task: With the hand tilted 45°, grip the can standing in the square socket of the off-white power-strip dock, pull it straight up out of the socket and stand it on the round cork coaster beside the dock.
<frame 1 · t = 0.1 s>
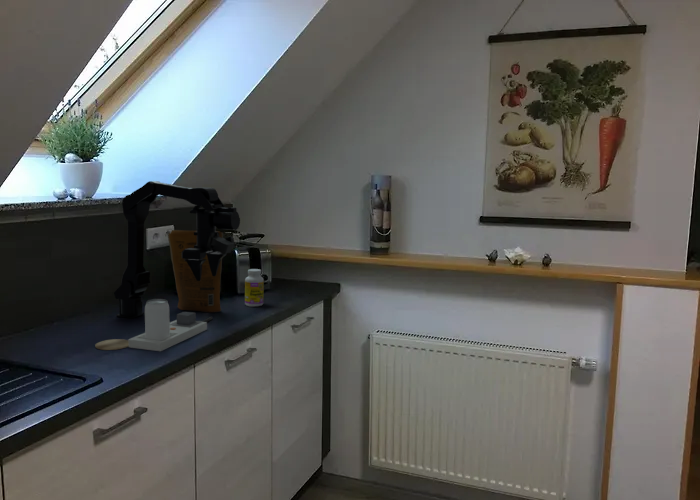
hand: (206, 278, 187), 15 cm above the worktop, tool pointing down, fingers open, 9 cm apart
pancake mix bag: (197, 310, 207), on the worktop
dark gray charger: (186, 330, 181), resting on strip dock
strip dock: (170, 337, 173), on the worktop
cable: (204, 323, 190), on the worktop
can: (157, 344, 168), resting in strip dock
cork coaster: (113, 345, 165), on the worktop
supplement bottle: (254, 305, 218), on the worktop
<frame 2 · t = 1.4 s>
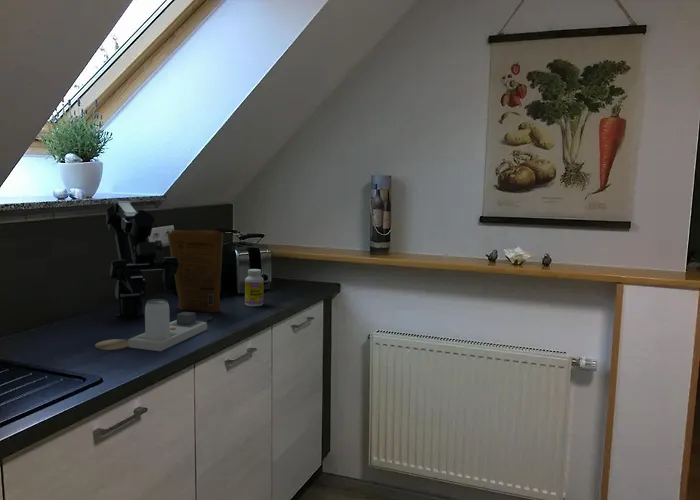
hand: (150, 291, 173), 13 cm above the worktop, tool tilted 45°, fingers open, 9 cm apart
nothing on the worktop moved.
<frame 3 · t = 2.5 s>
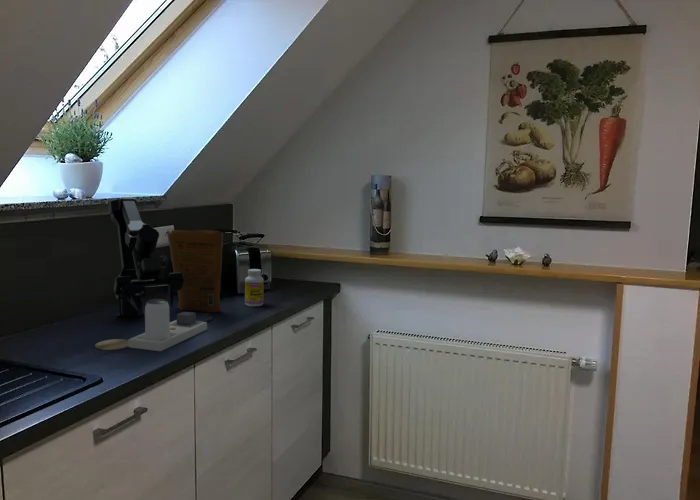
hand: (155, 307, 168), 10 cm above the worktop, tool tilted 45°, fingers open, 9 cm apart
nothing on the worktop moved.
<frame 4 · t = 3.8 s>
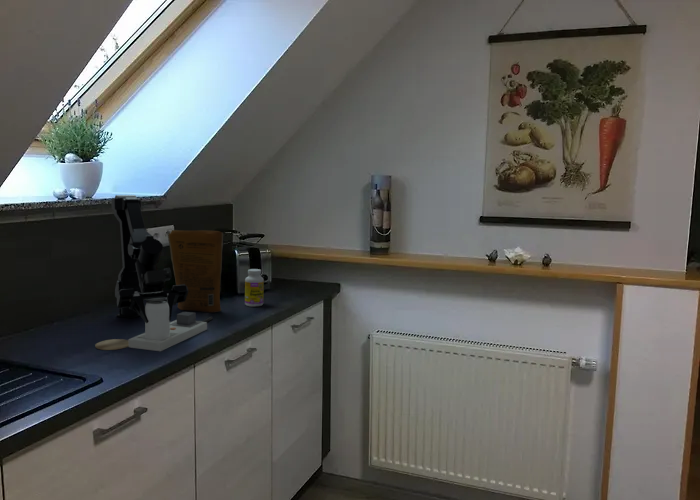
hand: (158, 321, 166), 7 cm above the worktop, tool tilted 45°, fingers closed on can, 6 cm apart
can: (157, 344, 168), resting in strip dock, touching gripper
everything else where it was.
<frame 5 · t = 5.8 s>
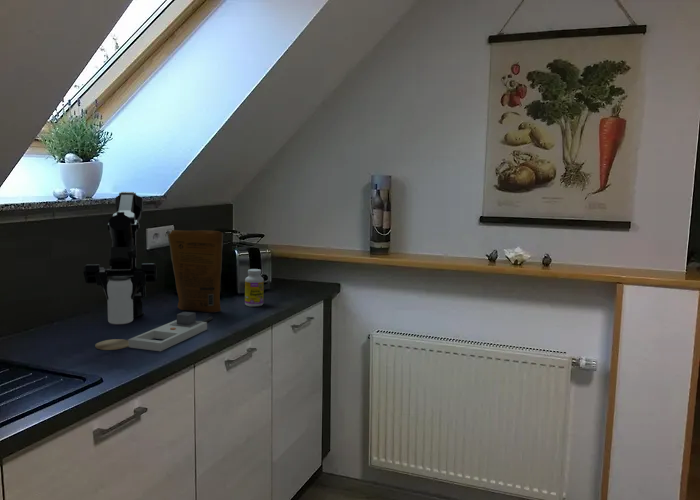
hand: (119, 299, 162), 13 cm above the worktop, tool tilted 45°, fingers closed on can, 6 cm apart
can: (120, 322, 164), point 6 cm above the worktop, touching gripper
everything else where it was.
when the fingers open (8 cm above the worktop, at t = 7.4 s): can stays where it is, resting on cork coaster.
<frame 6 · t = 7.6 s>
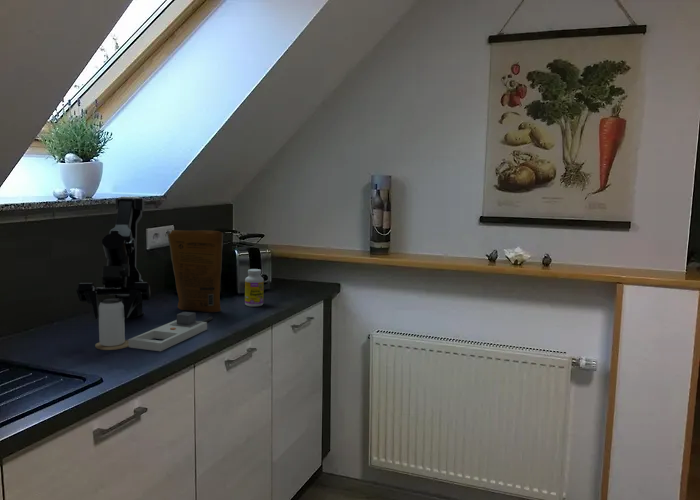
hand: (111, 317, 162), 8 cm above the worktop, tool tilted 45°, fingers open, 7 cm apart
can: (112, 344, 165), resting on cork coaster
everything else where it was.
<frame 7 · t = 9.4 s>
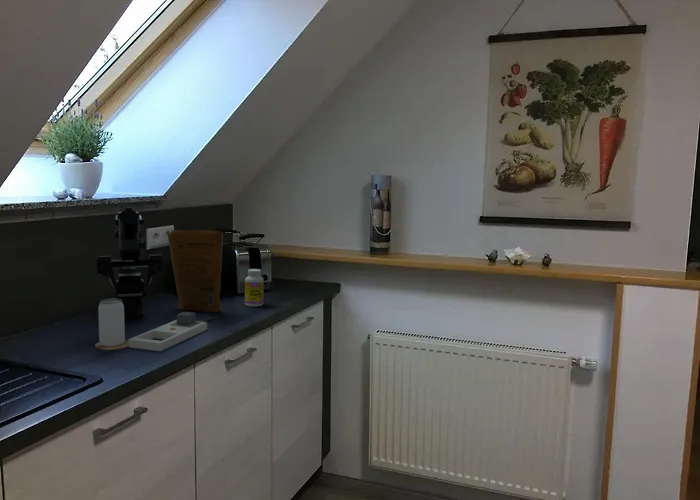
hand: (131, 287, 177), 13 cm above the worktop, tool tilted 45°, fingers open, 9 cm apart
nothing on the worktop moved.
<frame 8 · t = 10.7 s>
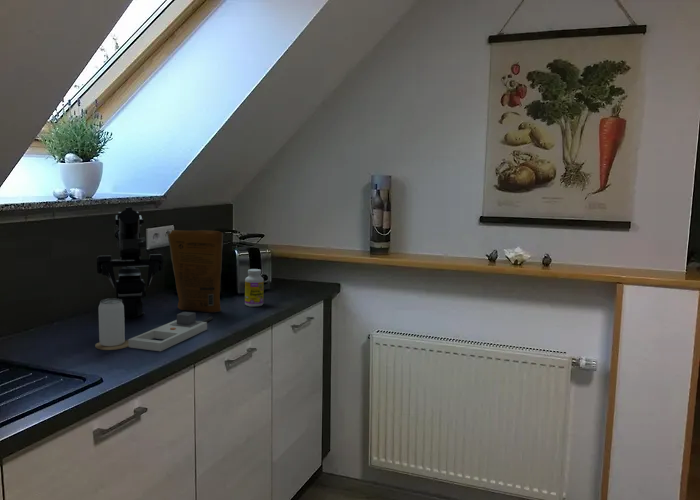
hand: (131, 286, 177), 14 cm above the worktop, tool tilted 45°, fingers open, 9 cm apart
nothing on the worktop moved.
at the end: can 0.2 cm from the cork coaster (horizontally); can tilted 0°; can resting on cork coaster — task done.
